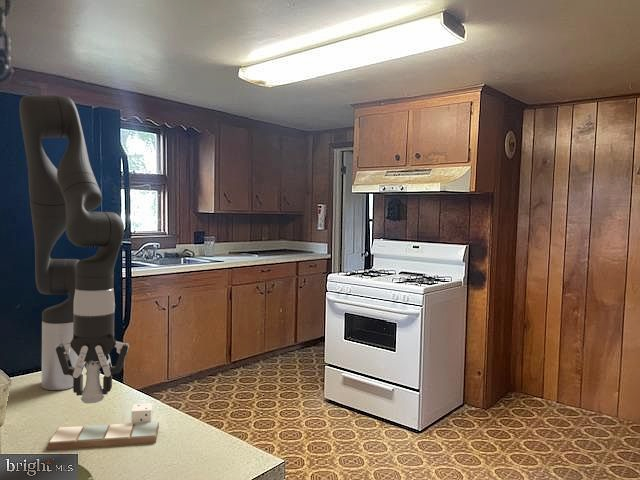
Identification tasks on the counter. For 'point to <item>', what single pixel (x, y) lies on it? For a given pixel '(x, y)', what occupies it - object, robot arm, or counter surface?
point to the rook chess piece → (92, 383)
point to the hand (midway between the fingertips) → (92, 393)
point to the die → (142, 413)
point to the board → (104, 435)
